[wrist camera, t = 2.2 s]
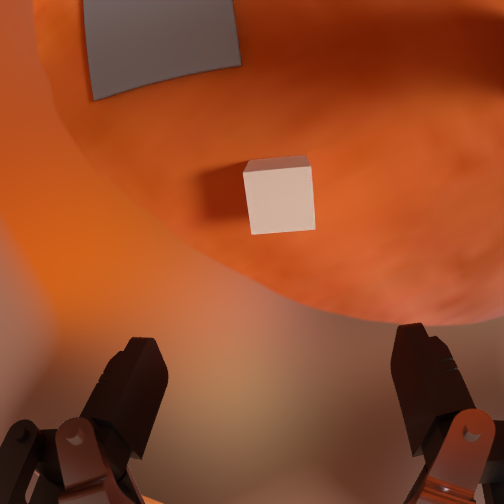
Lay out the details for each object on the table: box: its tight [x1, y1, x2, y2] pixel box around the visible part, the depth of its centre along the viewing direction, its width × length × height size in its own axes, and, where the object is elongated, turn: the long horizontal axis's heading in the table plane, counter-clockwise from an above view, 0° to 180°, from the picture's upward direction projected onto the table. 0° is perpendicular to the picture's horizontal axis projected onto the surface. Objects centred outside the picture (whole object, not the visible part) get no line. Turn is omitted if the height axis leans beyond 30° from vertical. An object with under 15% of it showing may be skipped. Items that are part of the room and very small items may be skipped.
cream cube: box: [243, 155, 315, 235], centre depth 26 cm, size 5×5×5 cm
